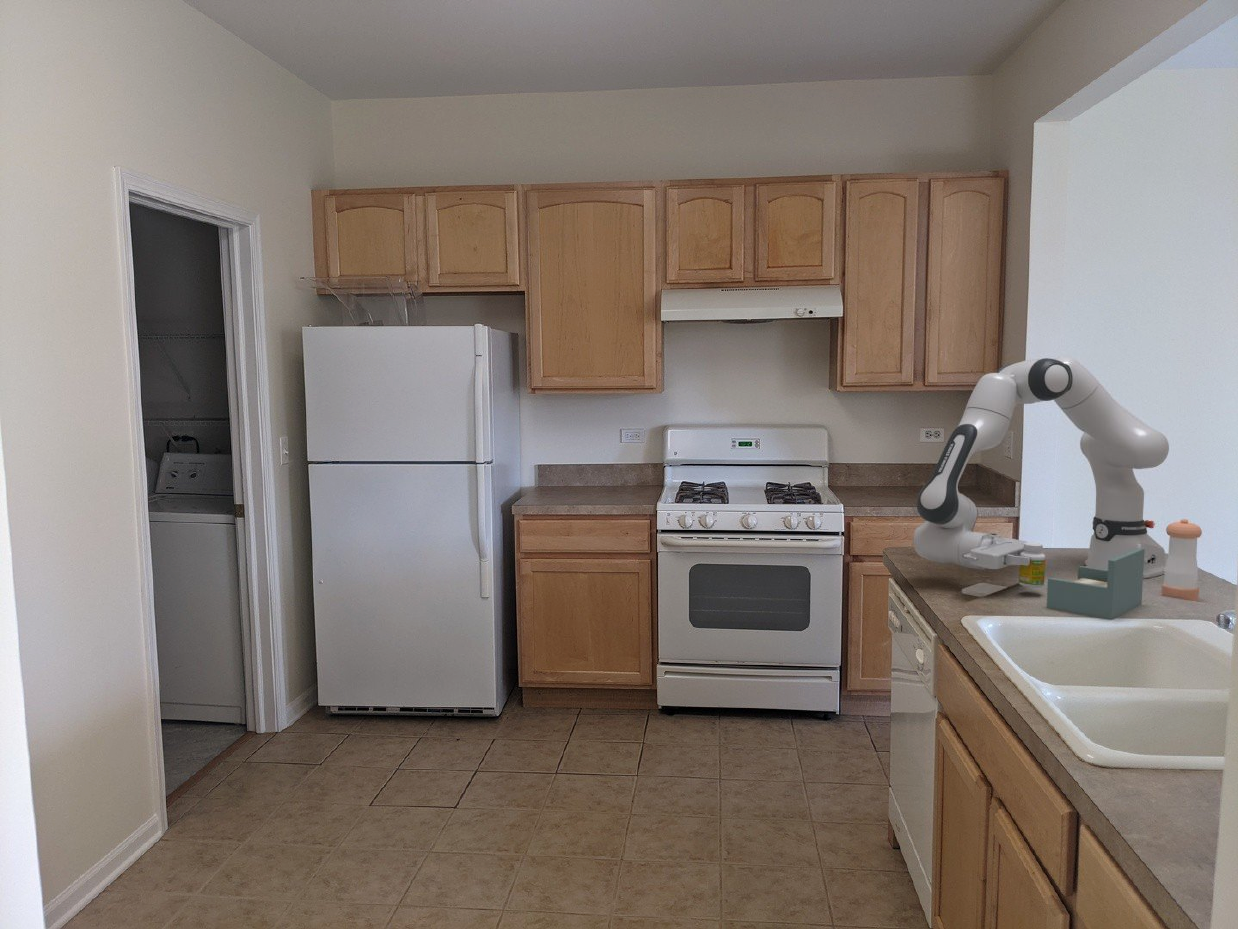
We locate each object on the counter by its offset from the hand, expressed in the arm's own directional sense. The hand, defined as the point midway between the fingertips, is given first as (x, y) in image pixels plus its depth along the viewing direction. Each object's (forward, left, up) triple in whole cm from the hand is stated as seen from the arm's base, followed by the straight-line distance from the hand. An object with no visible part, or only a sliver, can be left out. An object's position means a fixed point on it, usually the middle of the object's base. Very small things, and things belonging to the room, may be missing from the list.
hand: (1036, 559), depth 205 cm
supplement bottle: (0, -1, -6) cm, 6 cm away
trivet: (+4, -9, -10) cm, 14 cm away
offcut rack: (-5, +11, -10) cm, 16 cm away
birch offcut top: (-5, +11, -5) cm, 13 cm away
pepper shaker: (-32, +12, -10) cm, 35 cm away
